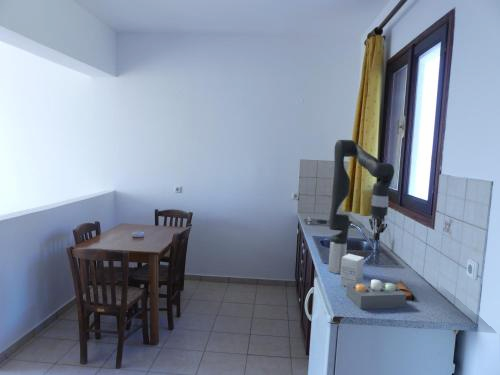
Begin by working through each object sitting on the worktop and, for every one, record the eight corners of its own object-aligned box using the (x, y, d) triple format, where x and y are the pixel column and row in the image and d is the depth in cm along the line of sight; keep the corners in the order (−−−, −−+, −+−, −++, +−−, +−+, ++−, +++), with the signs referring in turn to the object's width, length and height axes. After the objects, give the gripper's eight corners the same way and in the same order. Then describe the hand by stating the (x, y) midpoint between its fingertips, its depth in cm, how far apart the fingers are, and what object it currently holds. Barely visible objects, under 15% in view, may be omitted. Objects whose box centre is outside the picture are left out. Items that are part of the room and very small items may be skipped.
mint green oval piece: (382, 294, 165) (383, 283, 165) (391, 293, 166) (392, 282, 165) (388, 298, 161) (389, 286, 160) (397, 298, 162) (398, 286, 161)
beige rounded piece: (353, 295, 162) (354, 283, 162) (362, 294, 163) (363, 283, 163) (358, 299, 158) (359, 287, 157) (367, 299, 159) (368, 287, 158)
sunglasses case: (385, 284, 183) (393, 274, 182) (396, 292, 183) (404, 282, 182) (396, 299, 165) (404, 288, 164) (408, 307, 165) (417, 296, 164)
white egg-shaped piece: (368, 290, 164) (369, 279, 163) (377, 290, 165) (378, 279, 164) (373, 294, 159) (374, 283, 159) (382, 294, 160) (383, 283, 159)
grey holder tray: (346, 295, 167) (346, 283, 166) (387, 294, 171) (388, 282, 170) (360, 309, 153) (361, 296, 153) (405, 307, 158) (406, 294, 157)
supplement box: (346, 280, 188) (348, 253, 186) (362, 284, 182) (364, 257, 180) (339, 284, 181) (341, 256, 179) (355, 289, 175) (358, 260, 173)
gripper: (365, 202, 171) (362, 236, 173) (379, 207, 159) (376, 244, 161) (379, 202, 173) (376, 236, 175) (394, 207, 160) (391, 244, 162)
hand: (376, 240), depth 168 cm, fingers closed
